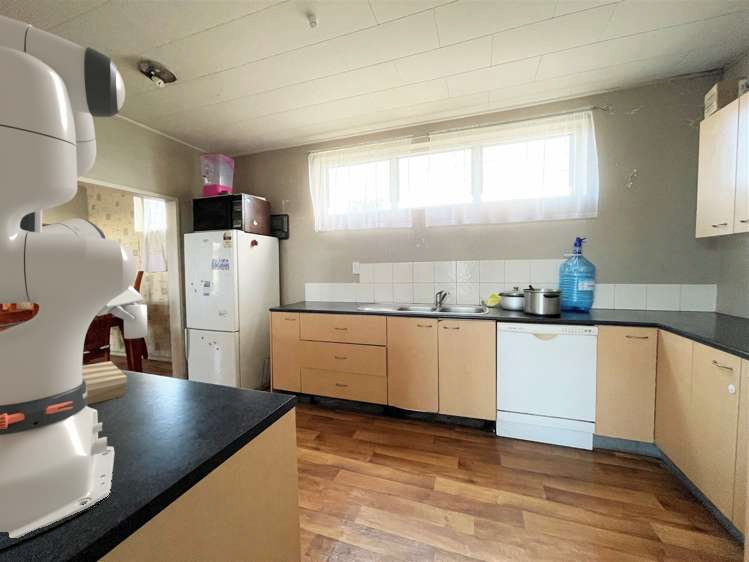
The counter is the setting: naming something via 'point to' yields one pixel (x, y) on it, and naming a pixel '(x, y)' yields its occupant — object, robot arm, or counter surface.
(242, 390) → the counter surface
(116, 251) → the robot arm
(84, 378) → the wooden board
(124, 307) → the white rounded block
